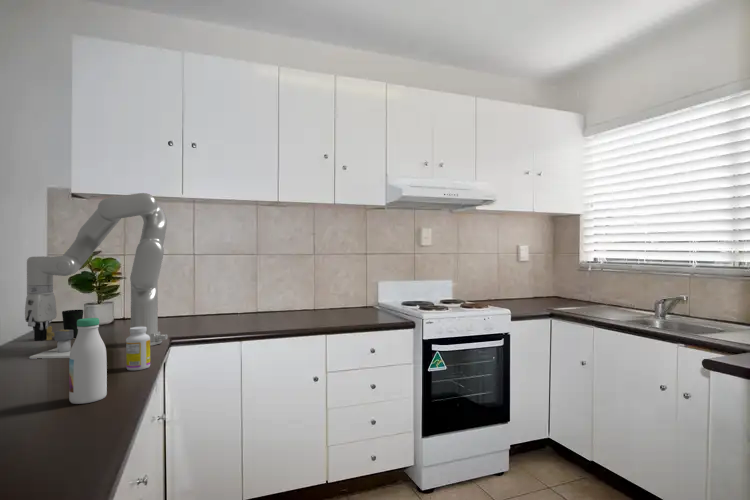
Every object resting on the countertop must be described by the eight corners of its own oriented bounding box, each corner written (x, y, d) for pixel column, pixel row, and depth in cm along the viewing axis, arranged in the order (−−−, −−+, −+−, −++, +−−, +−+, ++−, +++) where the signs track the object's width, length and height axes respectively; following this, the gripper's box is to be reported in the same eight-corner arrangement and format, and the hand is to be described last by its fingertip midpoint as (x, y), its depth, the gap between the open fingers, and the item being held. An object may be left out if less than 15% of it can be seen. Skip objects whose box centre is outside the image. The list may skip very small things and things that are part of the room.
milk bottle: (113, 393, 108) (113, 316, 108) (94, 404, 101) (94, 321, 101) (82, 394, 108) (82, 316, 108) (61, 405, 100) (61, 321, 100)
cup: (58, 340, 178) (58, 312, 178) (66, 337, 186) (66, 310, 186) (79, 339, 180) (79, 311, 180) (86, 336, 188) (86, 309, 188)
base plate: (95, 348, 161) (95, 335, 161) (71, 357, 147) (71, 343, 147) (57, 349, 160) (57, 336, 161) (29, 358, 147) (29, 344, 147)
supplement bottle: (145, 364, 137) (145, 325, 138) (154, 367, 133) (153, 327, 133) (122, 368, 132) (122, 328, 132) (131, 372, 128) (131, 330, 128)
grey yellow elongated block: (77, 340, 156) (77, 326, 156) (61, 343, 150) (61, 329, 150) (54, 338, 160) (54, 325, 160) (38, 341, 154) (38, 327, 154)
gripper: (36, 291, 146) (36, 344, 146) (64, 288, 161) (64, 336, 161) (13, 292, 145) (13, 345, 145) (43, 288, 160) (44, 336, 160)
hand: (40, 340), depth 153 cm, fingers closed
